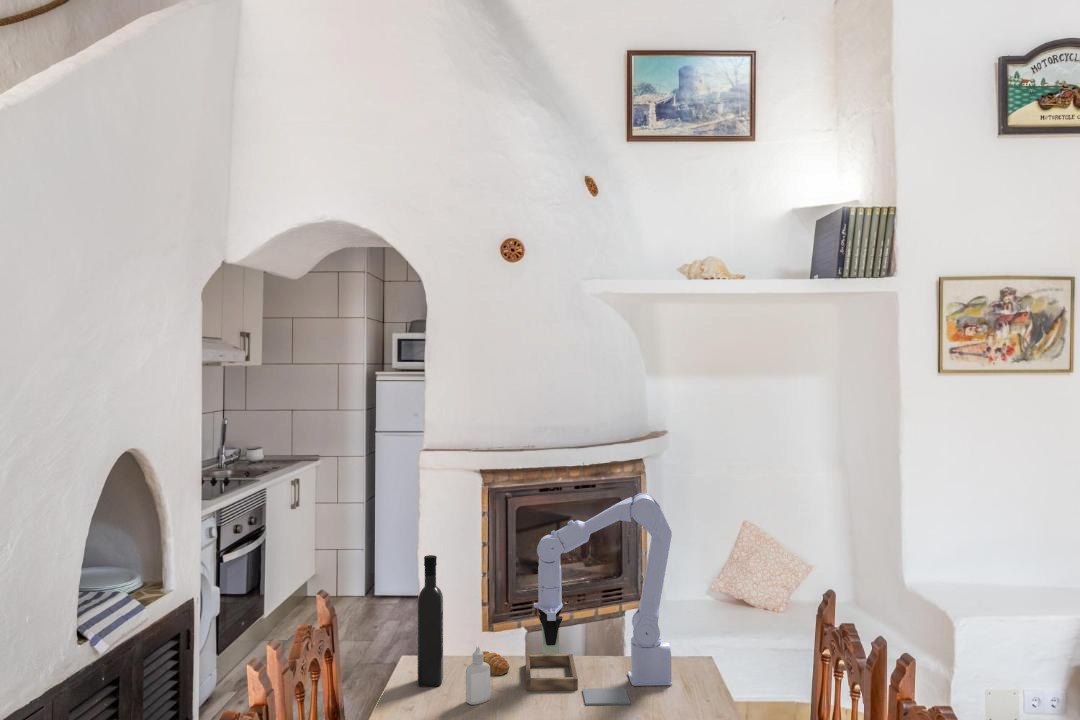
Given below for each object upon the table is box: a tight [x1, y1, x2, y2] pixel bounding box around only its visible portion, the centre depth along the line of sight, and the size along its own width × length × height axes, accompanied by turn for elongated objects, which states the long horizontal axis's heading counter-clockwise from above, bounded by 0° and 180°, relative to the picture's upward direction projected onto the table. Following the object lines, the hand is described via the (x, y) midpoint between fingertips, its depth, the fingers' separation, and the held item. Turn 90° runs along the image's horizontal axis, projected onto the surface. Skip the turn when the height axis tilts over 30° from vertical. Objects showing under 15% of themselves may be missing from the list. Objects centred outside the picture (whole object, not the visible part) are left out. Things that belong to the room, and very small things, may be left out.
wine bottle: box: [417, 554, 444, 687], centre depth 176 cm, size 6×6×30 cm
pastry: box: [482, 650, 511, 676], centre depth 183 cm, size 9×7×4 cm
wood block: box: [541, 625, 560, 654], centre depth 179 cm, size 4×4×6 cm
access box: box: [525, 653, 579, 692], centre depth 178 cm, size 12×16×2 cm
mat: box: [581, 687, 631, 706], centre depth 166 cm, size 10×8×1 cm
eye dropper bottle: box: [465, 646, 491, 706], centre depth 165 cm, size 4×6×12 cm
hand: (550, 641), depth 179 cm, fingers closed on wood block, 4 cm apart
